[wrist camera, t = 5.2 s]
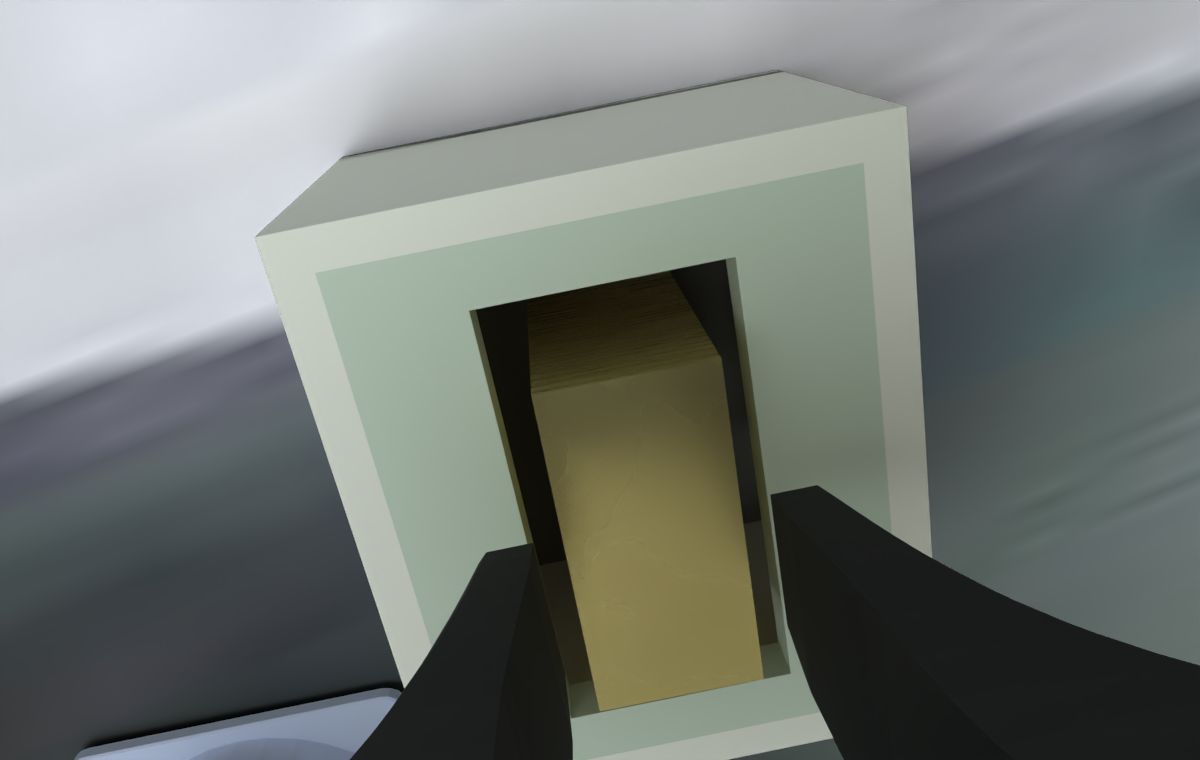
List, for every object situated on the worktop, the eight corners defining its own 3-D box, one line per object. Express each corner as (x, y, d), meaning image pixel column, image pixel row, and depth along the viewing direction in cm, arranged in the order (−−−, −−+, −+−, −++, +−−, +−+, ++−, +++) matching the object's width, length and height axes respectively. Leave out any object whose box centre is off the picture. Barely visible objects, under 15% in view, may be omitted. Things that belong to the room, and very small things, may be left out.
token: (700, 508, 18) (763, 678, 14) (577, 532, 18) (600, 710, 14) (662, 259, 16) (721, 358, 12) (526, 285, 16) (531, 395, 12)
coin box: (824, 518, 22) (941, 715, 16) (466, 590, 22) (447, 817, 16) (776, 69, 18) (906, 106, 12) (342, 156, 18) (254, 237, 12)
